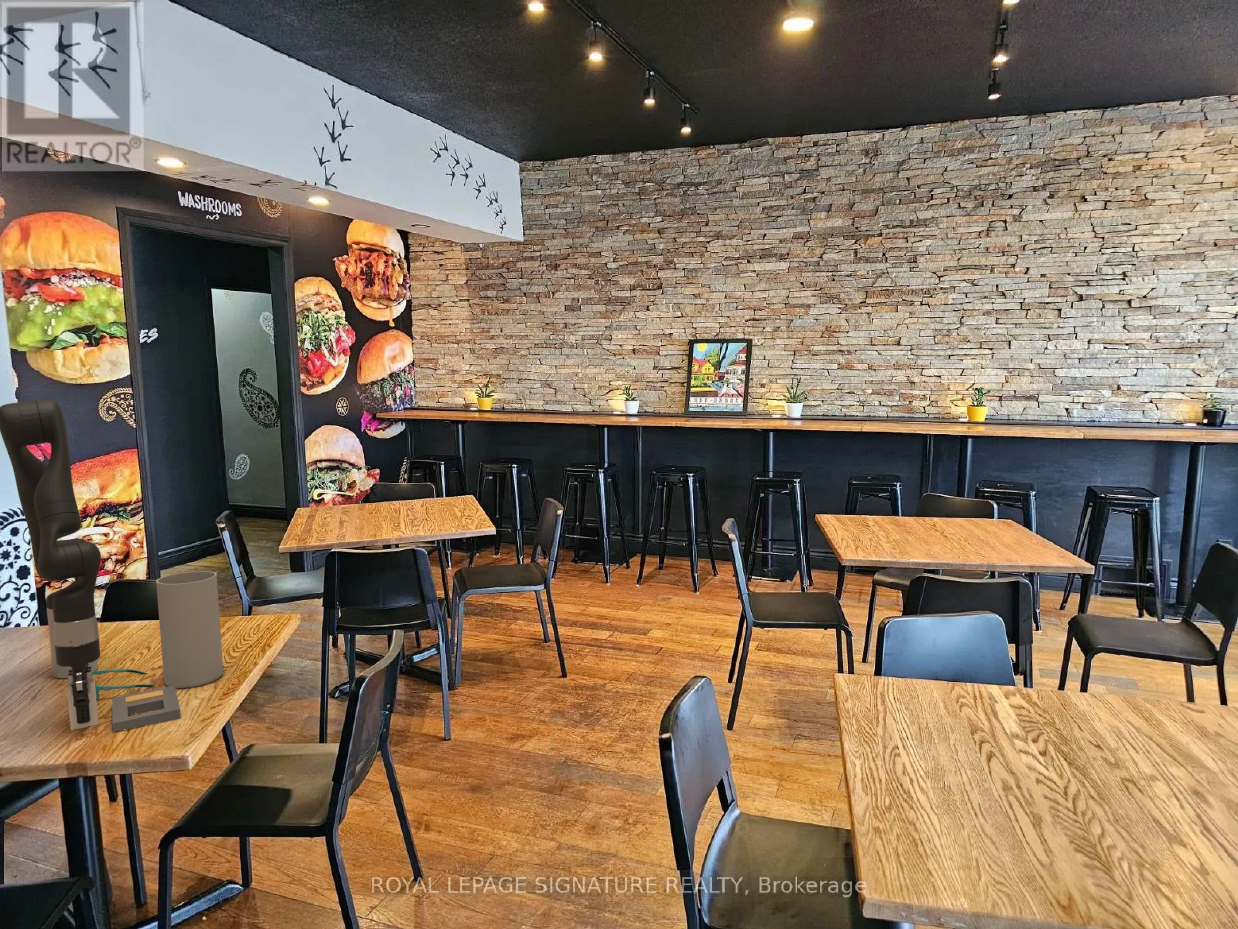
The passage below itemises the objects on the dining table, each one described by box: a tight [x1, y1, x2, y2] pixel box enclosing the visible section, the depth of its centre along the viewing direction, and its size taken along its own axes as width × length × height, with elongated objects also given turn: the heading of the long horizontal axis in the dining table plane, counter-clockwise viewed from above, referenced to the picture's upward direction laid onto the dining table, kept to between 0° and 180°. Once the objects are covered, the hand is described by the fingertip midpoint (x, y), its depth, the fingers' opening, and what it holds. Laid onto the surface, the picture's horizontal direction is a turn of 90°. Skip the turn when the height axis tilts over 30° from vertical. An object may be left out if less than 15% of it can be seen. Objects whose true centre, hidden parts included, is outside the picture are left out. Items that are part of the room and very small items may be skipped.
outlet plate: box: [111, 685, 182, 733], centre depth 167 cm, size 16×12×2 cm
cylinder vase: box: [155, 570, 224, 689], centre depth 184 cm, size 12×12×25 cm
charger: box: [66, 676, 99, 731], centre depth 161 cm, size 4×5×9 cm
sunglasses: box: [91, 668, 156, 700], centre depth 181 cm, size 14×15×5 cm
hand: (84, 718), depth 161 cm, fingers closed on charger, 4 cm apart
